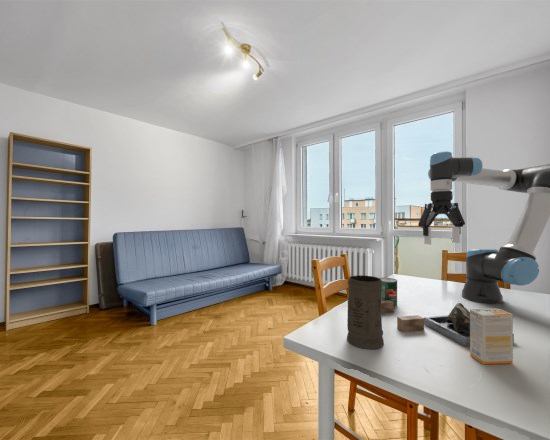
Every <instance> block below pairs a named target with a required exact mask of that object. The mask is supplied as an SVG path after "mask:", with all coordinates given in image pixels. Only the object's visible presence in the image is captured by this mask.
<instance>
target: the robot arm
mask: <svg viewBox="0 0 550 440" xmlns="http://www.w3.org/2000/svg"><path fill="white" fill-rule="evenodd" d="M427 176H428V178H429V180H430V181H429V182H430V191H431V192H430V201H431V202H427V203H424V209H423V212H422V214H421V216H420V219H419V221H418V224H417V226H418V227H420V228H422V235H423V236H424V237H423V238H424V239H423V240H424V245H429V246H430V245H432V228H431V227H430V226H431V225H432V224H433V222H434V221H435V219H436V218H437V216H439V215H445V216H446V217H447V219H448V220H449V221H450V222H451V224H452V225H453V226H451V227H452V234H451V235H452V243H455V244H460V243H461V238H460V236H461V234H462V233H461V231H462V230H461V228H462V227H464V226H465V225H466V222H465V219H464V216H463V214H462V212H461V210H460V208H459V202H452V201H453V191H452V190H453V183H462V184H471V185H477V186H478V185H479V186H486V187H493V188H494V187H496V188H498V189H499V190H503V191H508V192H516V193H522V194H528V195H529V196H528V198H527V200H526V203H525V204H524V207H523V209H522V211H521V213H520V215H519V217H518V219H517V221H516V224H515V227H514V228H513V230H512V232H511V235H510V236H509V239H508V241H507V242H506V245H502V246H500V247H499V249H496V248H492V249H491V248H490V249H487V248H486V249H485V248H484V249H483V248H482V249H468V250H466V256H465V271H466V272H465V273H466V274H465V275H466V277H465V278H466V279H465V282H464V286H463V288H462V289H461V297H463V298H464V299H465V300H469V301H473V302H477V303H484V304H502V303H503V301H504V297H503V294H502V293H501V292H502V291H501V289H500V287H499V284H498V282H502V283H506V284H508V285H515V286H526V285H529V284H532V283H533V282H534V281H536V279H537V278H538V277H539V273H540V268H539V264H538V262H537V257H536V255H535V254H534V252H535V250H536V247H537V245H538V243H539V241H540V239H541V237H542V235H543V232H544V230H545V228H546V226H547V225H548V221H549V219H550V163H548V164H544V165H542V164H541V165H537V166H532V167H531V166H530V167H524V168H519V169H518V168H517V169H510V168H509V169H508V168H507V169H503V170H499V169H492V168H483V161H482V159H481V158H479V157H473V156H470V157H469V156H468V157H454V156H453V152H450V151H439V152H434V153H432V154H431V155H430V160H429V170H428V172H427Z"/></svg>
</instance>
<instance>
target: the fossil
mask: <svg viewBox="0 0 550 440" xmlns="http://www.w3.org/2000/svg"><path fill="white" fill-rule="evenodd" d="M447 315H448V317H447V320H446V321H447V322H448V323H453V325H454V326H453V327H454V330H455V332H460V331H463V330H464V331H470V310H469V309H467V308H466V307H465V305H463V303H462V302H458V303H456V304H455V306H454V307H453V308H452V309H451V310H450V312H449V314H447Z"/></svg>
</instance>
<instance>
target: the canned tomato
mask: <svg viewBox="0 0 550 440" xmlns="http://www.w3.org/2000/svg"><path fill="white" fill-rule="evenodd" d="M379 278H380V279H381V280H382V288H381V301H384V300H390V301H392V302H394V308H397V307H398V279H395V278H391V277H379Z"/></svg>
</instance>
